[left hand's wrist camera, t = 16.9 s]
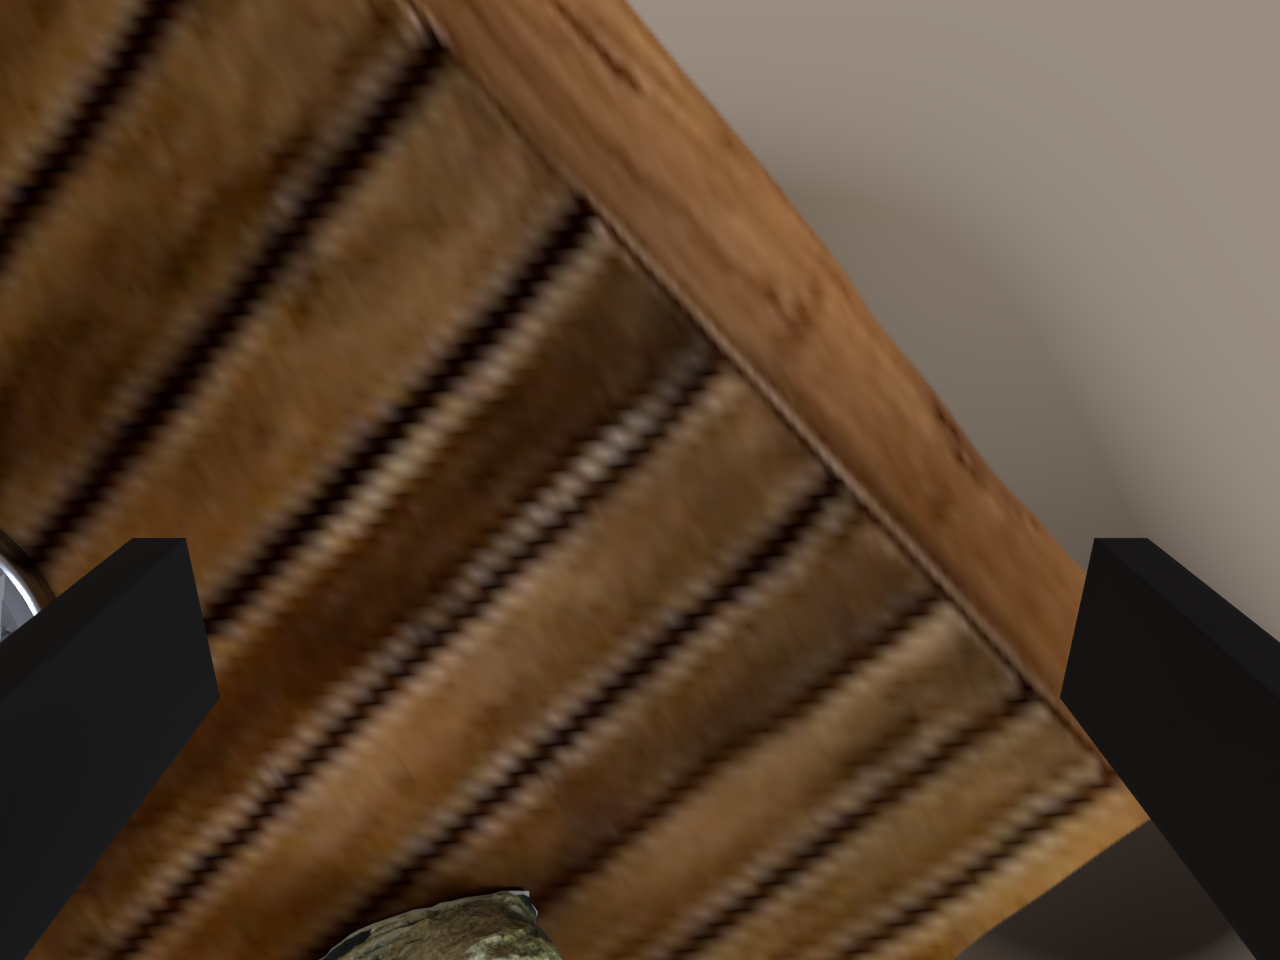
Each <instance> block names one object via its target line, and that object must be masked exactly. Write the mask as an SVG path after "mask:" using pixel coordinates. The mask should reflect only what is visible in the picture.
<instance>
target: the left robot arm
mask: <svg viewBox="0 0 1280 960" xmlns="http://www.w3.org/2000/svg"><path fill="white" fill-rule="evenodd" d="M219 698H220V695H219V691H218V686H217V681H216V677H215V672H214V667H213V663H212V658H211V654H210V649H209V644H208V640H207V635H206V630H205V626H204V621H203V617H202V612H201V607H200V603H199V598H198V594H197V589H196V584H195V580H194V575H193V570H192V566H191V561H190V557H189V552H188V547H187V543H186V538H132V539H131V540H130V541H128V542H127V543H126V544H124V545H123V546H122V547H121V548H119V549H118V550H117V551H116V552H114V553H113V554H112V555H111V556H109V557H108V558H107V559H105V560H104V561H103V562H102V563H100V564H99V565H98V566H97V567H95V568H94V569H93V570H91V571H90V572H89V573H88V574H86V575H85V576H84V577H83V578H81V579H80V580H79V581H78V582H76V583H75V584H74V585H72V586H71V587H70V588H69V589H67V590H66V591H65V592H64V593H62V594H61V595H60V596H59V597H57V598H56V597H55V595H54V593H53V591H52V589H51V588H50V586H49V584H48V582H47V581H46V579H45V578H44V576H43V575H42V573H41V572H40V570H39V569H38V568H37V567H36V565H35V564H34V563H33V561H32V560H31V559H30V558H29V557H28V556H27V555H26V553H25V552H24V551H23V550H22V549H21V548H20V547H19V546H18V545H17V544H16V543H15V542H14V541H13V540H12V539H11V538H10V537H8V536H7V535H6V534H5V533H4V532H2V531H1V530H0V960H24V958H25V957H26V956H27V954H28V953H29V952H30V950H31V949H32V948H33V946H34V945H35V944H36V942H37V941H38V940H39V938H40V937H41V936H42V934H43V933H44V932H45V930H46V929H47V928H48V926H49V925H50V924H51V922H52V921H53V920H54V918H55V917H56V916H57V914H58V913H59V912H60V910H61V909H62V908H63V906H64V905H65V904H66V902H67V901H68V900H69V898H70V897H71V896H72V894H73V893H74V892H75V890H76V889H77V888H78V886H79V885H80V884H81V882H82V881H83V880H84V878H85V877H86V876H87V874H88V873H89V872H90V870H91V869H92V868H93V866H94V865H95V864H96V862H97V861H98V860H99V858H100V857H101V856H102V854H103V853H104V852H105V850H106V849H107V848H108V846H109V845H110V844H111V842H112V841H113V840H114V838H115V837H116V836H117V834H118V833H119V832H120V830H121V829H122V828H123V826H124V825H125V824H126V822H127V821H128V820H129V818H130V817H131V816H132V814H133V813H134V812H135V810H136V809H137V808H138V806H139V805H140V804H141V802H142V801H143V800H144V798H145V797H146V796H147V794H148V793H149V792H150V790H151V789H152V788H153V786H154V785H155V784H156V782H157V781H158V780H159V778H160V777H161V776H162V774H163V773H164V772H165V770H166V769H167V768H168V766H169V765H170V764H171V762H172V761H173V760H174V758H175V757H176V756H177V754H178V753H179V752H180V750H181V749H182V748H183V746H184V745H185V744H186V742H187V741H188V740H189V738H190V737H191V736H192V734H193V733H194V732H195V730H196V729H197V728H198V726H199V725H200V724H201V722H202V721H203V720H204V718H205V717H206V716H207V714H208V713H209V712H210V710H211V709H212V708H213V706H214V705H215V704H216V702H217V701H218V700H219ZM1060 698H1061V700H1062V701H1063V702H1064V704H1065V705H1066V706H1067V708H1068V709H1069V710H1070V712H1071V713H1072V714H1073V716H1074V717H1075V718H1076V720H1077V721H1078V722H1079V724H1080V725H1081V726H1082V728H1083V729H1084V730H1085V732H1086V733H1087V734H1088V736H1089V737H1090V738H1091V740H1092V741H1093V742H1094V744H1095V745H1096V746H1097V748H1098V749H1099V750H1100V752H1101V753H1102V754H1103V756H1104V757H1105V758H1106V760H1107V761H1108V762H1109V764H1110V765H1111V766H1112V768H1113V769H1114V770H1115V772H1116V773H1117V774H1118V776H1119V777H1120V778H1121V780H1122V781H1123V782H1124V784H1125V785H1126V786H1127V788H1128V789H1129V790H1130V792H1131V793H1132V794H1133V796H1134V797H1135V798H1136V800H1137V801H1138V802H1139V804H1140V805H1141V806H1142V808H1143V809H1144V810H1145V812H1146V813H1147V814H1148V816H1149V817H1150V818H1151V820H1152V821H1153V822H1154V824H1155V825H1156V826H1157V828H1158V829H1159V830H1160V832H1161V833H1162V834H1163V836H1164V837H1165V838H1166V840H1167V841H1168V842H1169V844H1170V845H1171V846H1172V848H1173V849H1174V850H1175V852H1176V853H1177V854H1178V856H1179V857H1180V858H1181V860H1182V861H1183V862H1184V864H1185V865H1186V866H1187V868H1188V869H1189V870H1190V872H1191V873H1192V874H1193V876H1194V877H1195V878H1196V880H1197V881H1198V882H1199V884H1200V885H1201V886H1202V888H1203V889H1204V890H1205V892H1206V893H1207V894H1208V896H1209V897H1210V898H1211V900H1212V901H1213V902H1214V904H1215V905H1216V906H1217V908H1218V909H1219V910H1220V912H1221V913H1222V914H1223V916H1224V917H1225V918H1226V920H1227V921H1228V922H1229V924H1230V925H1231V926H1232V928H1233V929H1234V930H1235V932H1236V933H1237V934H1238V936H1239V937H1240V938H1241V940H1242V941H1243V942H1244V944H1245V945H1246V946H1247V948H1248V949H1249V950H1250V952H1251V953H1252V954H1253V956H1254V957H1255V958H1256V960H1280V642H1278V641H1277V640H1276V639H1275V638H1273V637H1272V636H1271V635H1270V634H1268V633H1267V632H1266V631H1265V630H1263V629H1262V628H1261V627H1259V626H1258V625H1257V624H1256V623H1254V622H1253V621H1252V620H1251V619H1249V618H1248V617H1247V616H1246V615H1244V614H1243V613H1242V612H1240V611H1239V610H1238V609H1237V608H1235V607H1234V606H1233V605H1232V604H1230V603H1229V602H1228V601H1227V600H1225V599H1224V598H1223V597H1221V596H1220V595H1219V594H1218V593H1216V592H1215V591H1214V590H1213V589H1211V588H1210V587H1209V586H1208V585H1206V584H1205V583H1204V582H1202V581H1201V580H1200V579H1199V578H1197V577H1196V576H1195V575H1194V574H1192V573H1191V572H1190V571H1188V570H1187V569H1186V568H1185V567H1183V566H1182V565H1181V564H1180V563H1178V562H1177V561H1176V560H1174V559H1173V558H1172V557H1171V556H1169V555H1168V554H1167V553H1166V552H1164V551H1163V550H1162V549H1161V548H1159V547H1158V546H1157V545H1156V544H1154V543H1153V542H1152V541H1150V540H1149V539H1148V538H1095V539H1094V543H1093V548H1092V552H1091V557H1090V561H1089V566H1088V570H1087V575H1086V580H1085V584H1084V589H1083V594H1082V598H1081V603H1080V607H1079V612H1078V617H1077V621H1076V626H1075V630H1074V635H1073V640H1072V644H1071V649H1070V654H1069V658H1068V663H1067V667H1066V672H1065V677H1064V681H1063V686H1062V691H1061V695H1060Z"/></svg>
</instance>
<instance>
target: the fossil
mask: <svg viewBox="0 0 1280 960" xmlns="http://www.w3.org/2000/svg"><path fill="white" fill-rule="evenodd" d="M537 912H538V911H537V910H536V909H535V907H534V906H533V905H532V904H531V903H530V902H529V891H500V892H496V893H493V894H489V895H481V896H474V897H466V898H461V899H458V900H454V901H449V902H442V903H439V904H437V905H435V906H433V907H430V908H423V909H416V910H411V911H408V912H405V913H402V914H400V915H397V916H394V917H391V918H388V919H385V920H382V921H379V922H376V923H374V924H371V925H369V926H367V927H364V928H362V929H359V930H358V931H356V932H354V933H352V934H351V935H349V936H348V937H346V938H345V939H344V940H343V941H342V942H340V943H339V944H338V945H336V946H335V947H333V948H332V949H331V950H330V951H329V953H328V954H327V955H326V956H325V957H323V958H321V959H320V960H563V959H562V956H561V954H560V953H559V951H558V949H557V947H556V946H555V944H554V943H553V942H552V941H551V940H550V938H549V936H548V935H547V934H546V933H545V932H543V931H542V930H541V929H540V928H539V927H538V926H537V925H536V917H537Z"/></svg>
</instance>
